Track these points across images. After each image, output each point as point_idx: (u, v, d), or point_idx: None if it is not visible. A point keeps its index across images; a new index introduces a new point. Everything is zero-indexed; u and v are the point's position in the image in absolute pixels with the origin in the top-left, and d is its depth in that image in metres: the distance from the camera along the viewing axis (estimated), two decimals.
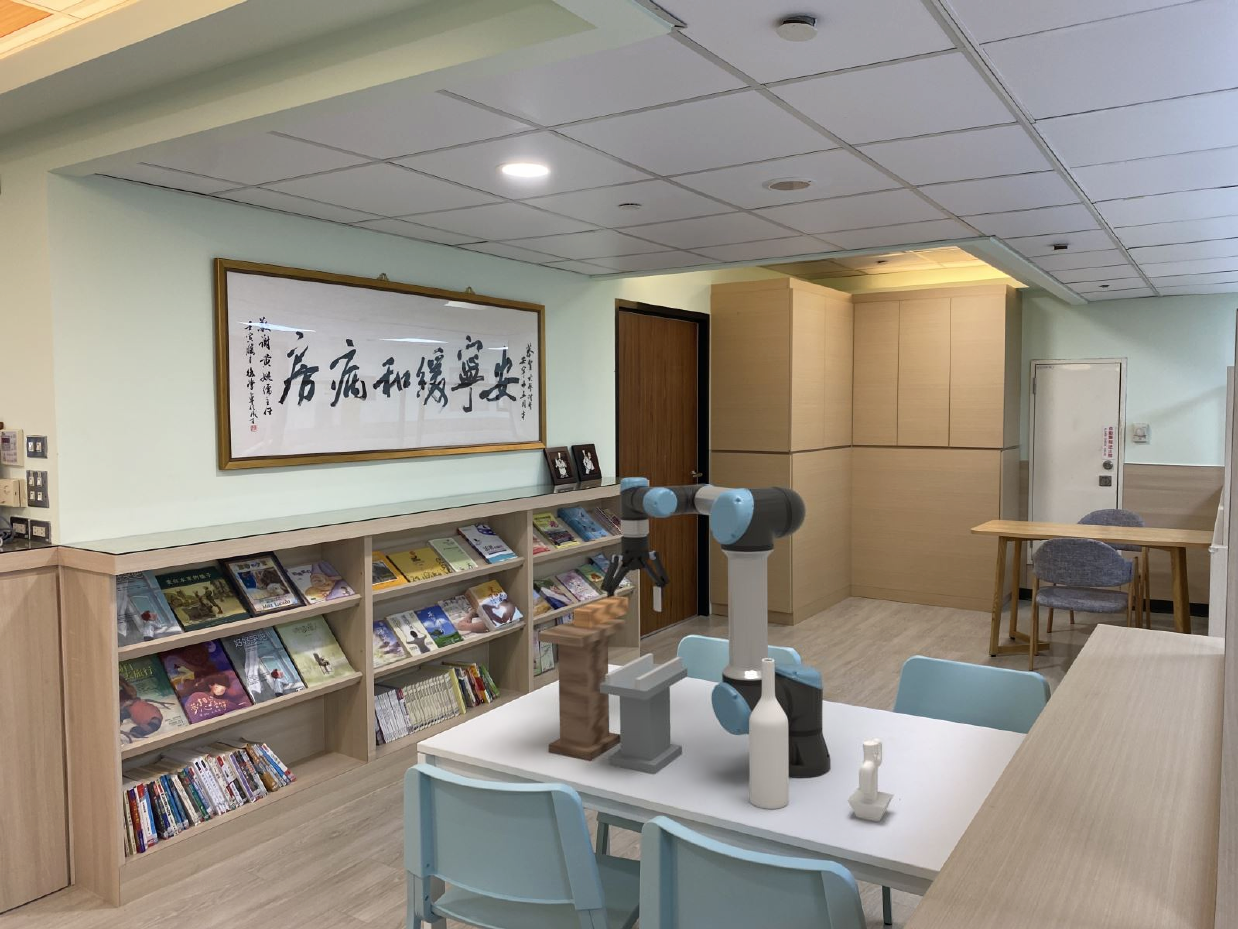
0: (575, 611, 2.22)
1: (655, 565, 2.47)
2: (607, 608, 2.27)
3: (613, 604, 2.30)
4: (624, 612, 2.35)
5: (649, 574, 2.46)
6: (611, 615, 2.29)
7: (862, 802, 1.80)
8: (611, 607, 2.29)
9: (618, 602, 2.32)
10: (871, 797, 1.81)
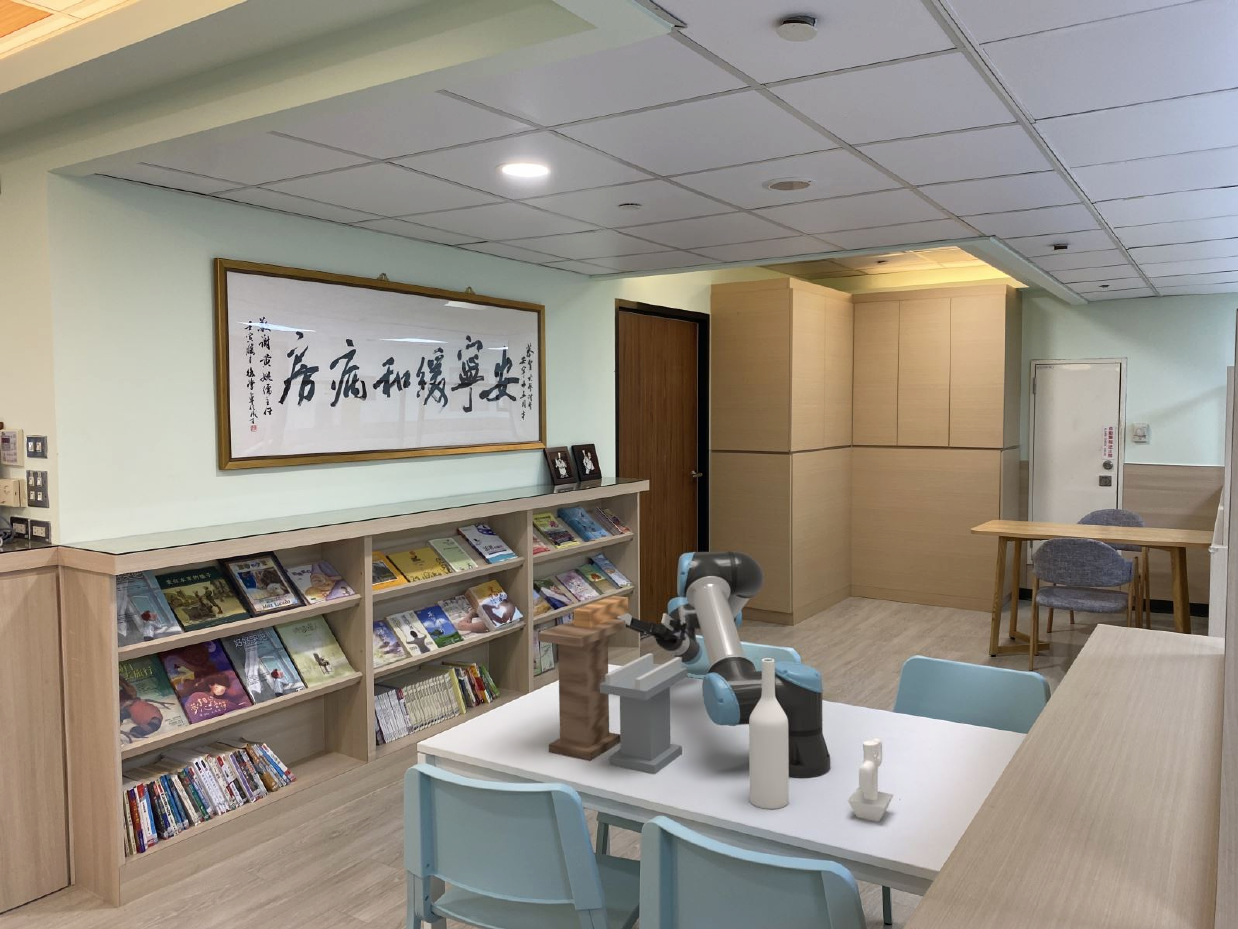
0: (575, 611, 2.22)
1: None
2: (607, 608, 2.27)
3: (613, 604, 2.30)
4: (624, 612, 2.35)
5: None
6: (611, 615, 2.29)
7: (862, 802, 1.80)
8: (611, 607, 2.29)
9: (618, 602, 2.32)
10: (871, 797, 1.81)
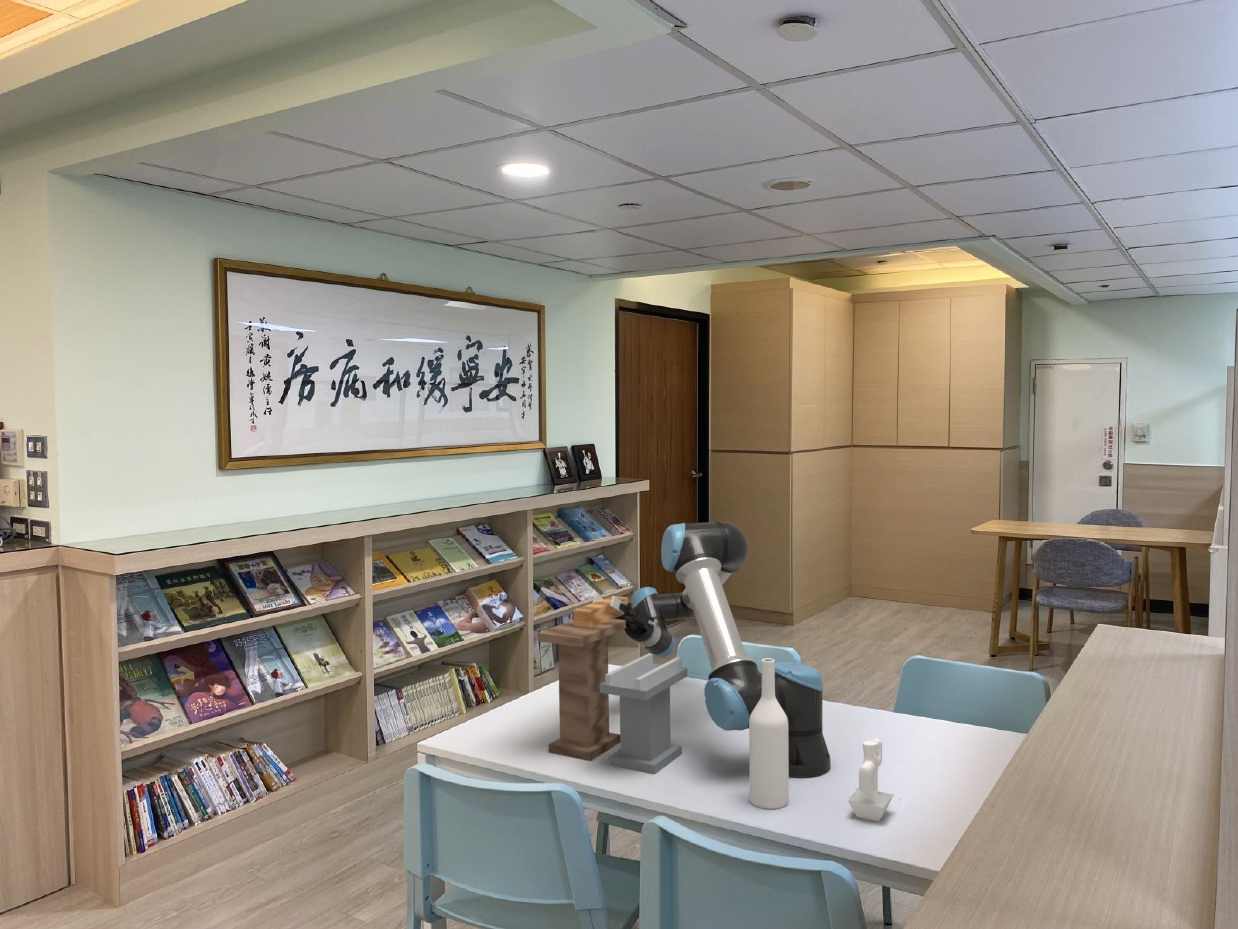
0: (575, 611, 2.22)
1: None
2: (607, 608, 2.27)
3: None
4: None
5: None
6: (611, 615, 2.29)
7: (862, 802, 1.80)
8: (611, 607, 2.29)
9: None
10: (871, 797, 1.81)
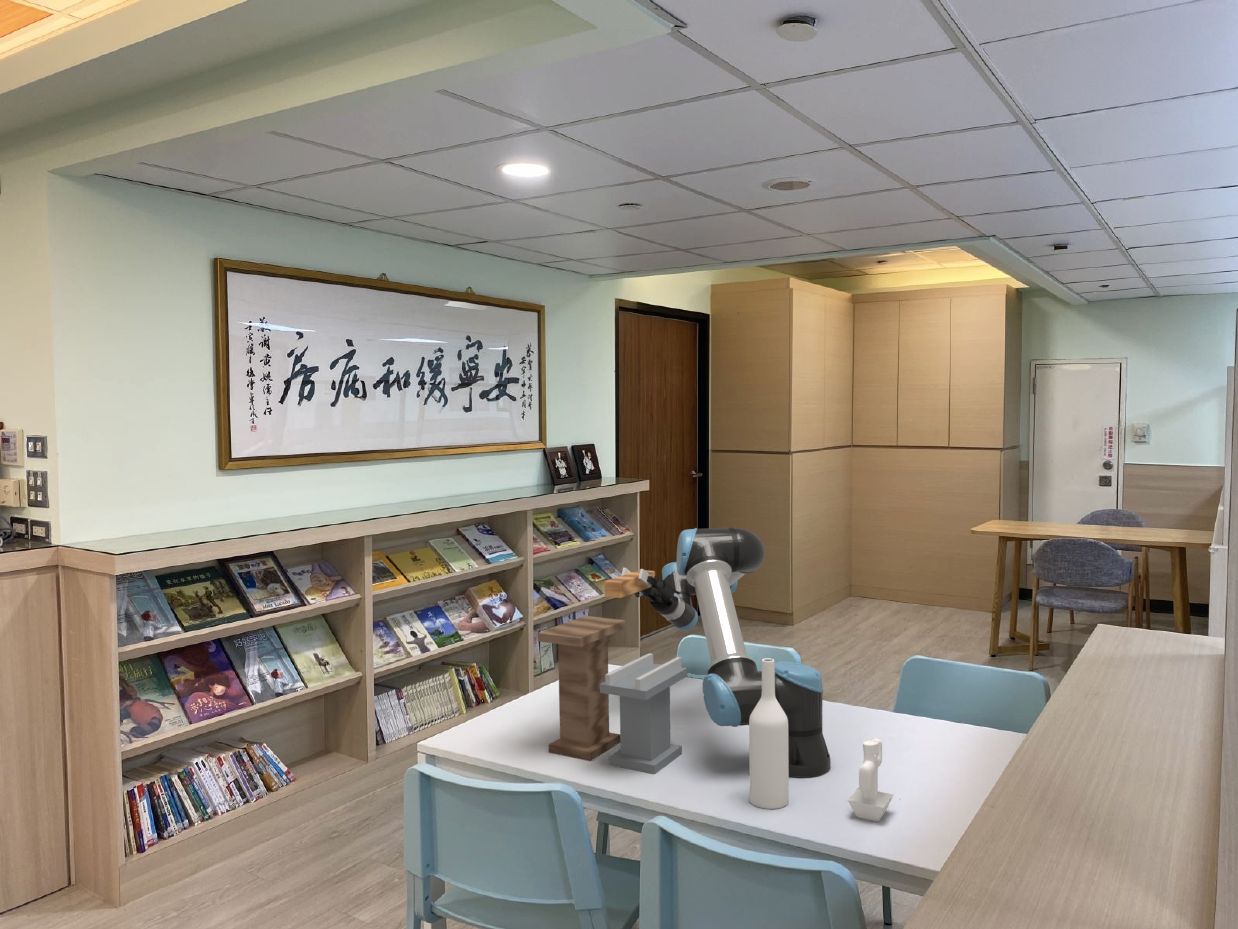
0: (606, 582, 2.33)
1: None
2: (636, 580, 2.38)
3: None
4: None
5: None
6: (640, 587, 2.40)
7: (862, 802, 1.80)
8: None
9: None
10: (871, 797, 1.81)
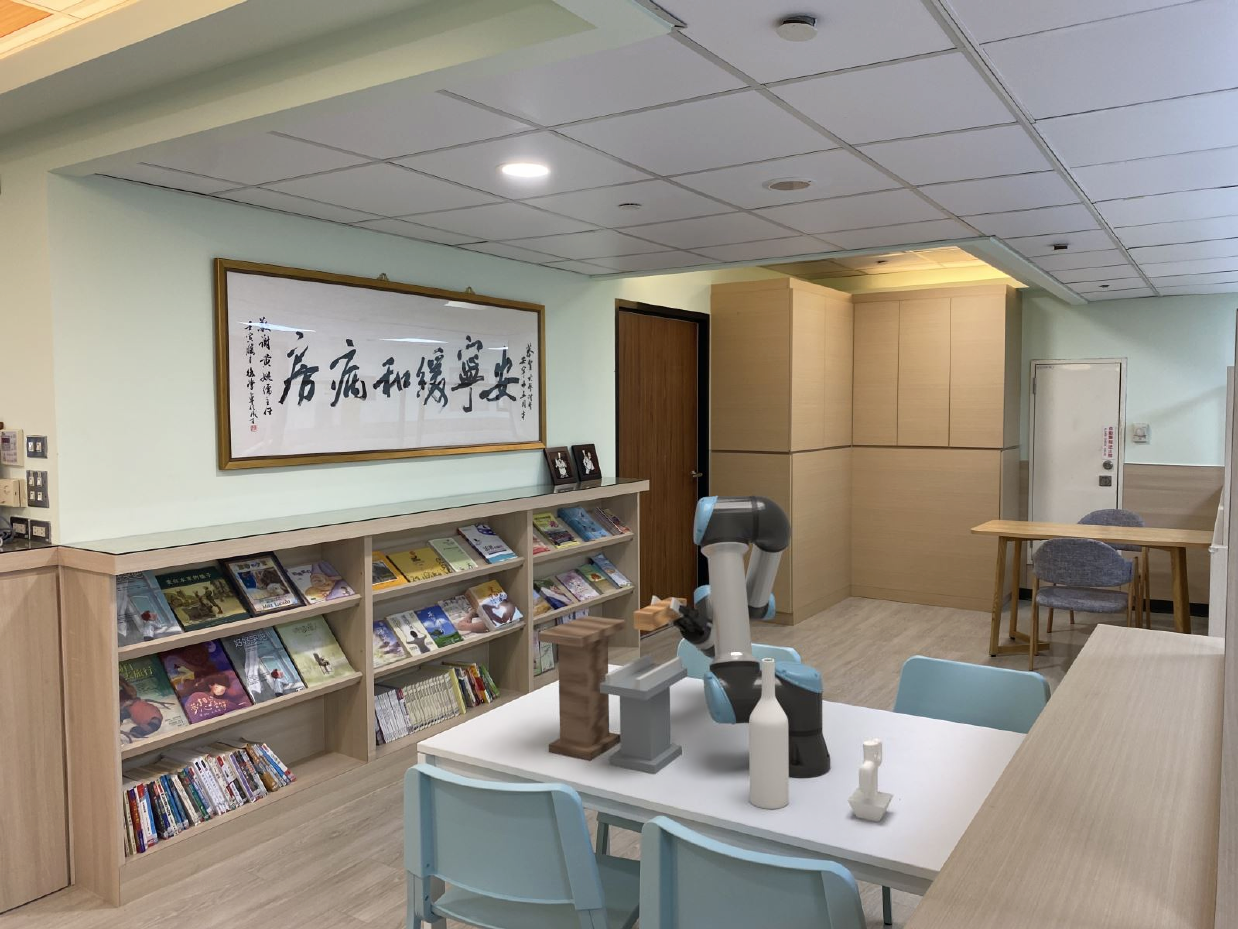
0: (635, 613, 2.13)
1: None
2: (667, 611, 2.19)
3: None
4: None
5: None
6: (671, 617, 2.21)
7: (862, 802, 1.80)
8: None
9: None
10: (871, 797, 1.81)
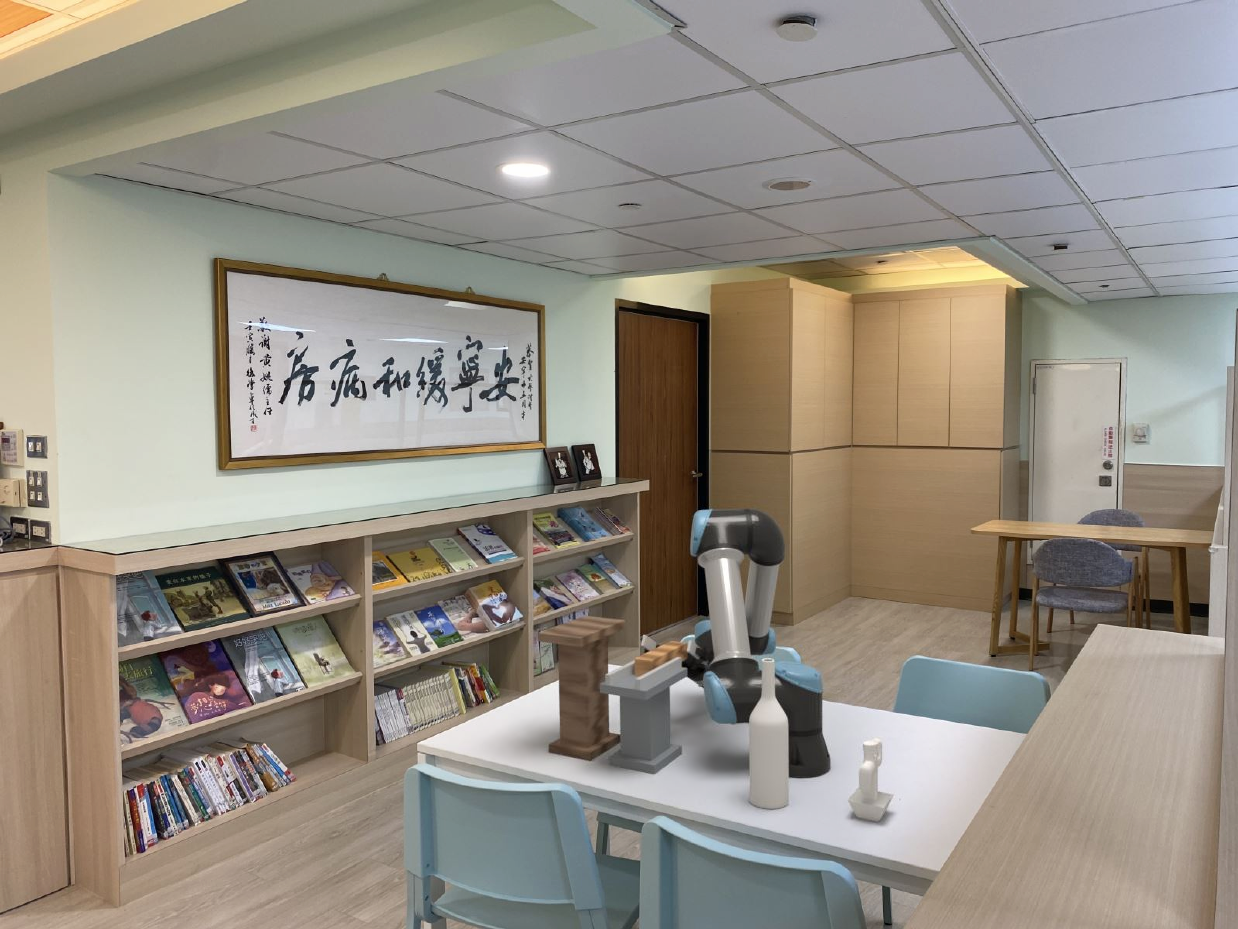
0: (636, 660, 2.14)
1: None
2: (668, 656, 2.19)
3: (673, 651, 2.22)
4: (684, 658, 2.26)
5: None
6: None
7: (862, 802, 1.80)
8: (672, 654, 2.21)
9: (678, 648, 2.24)
10: (871, 797, 1.81)
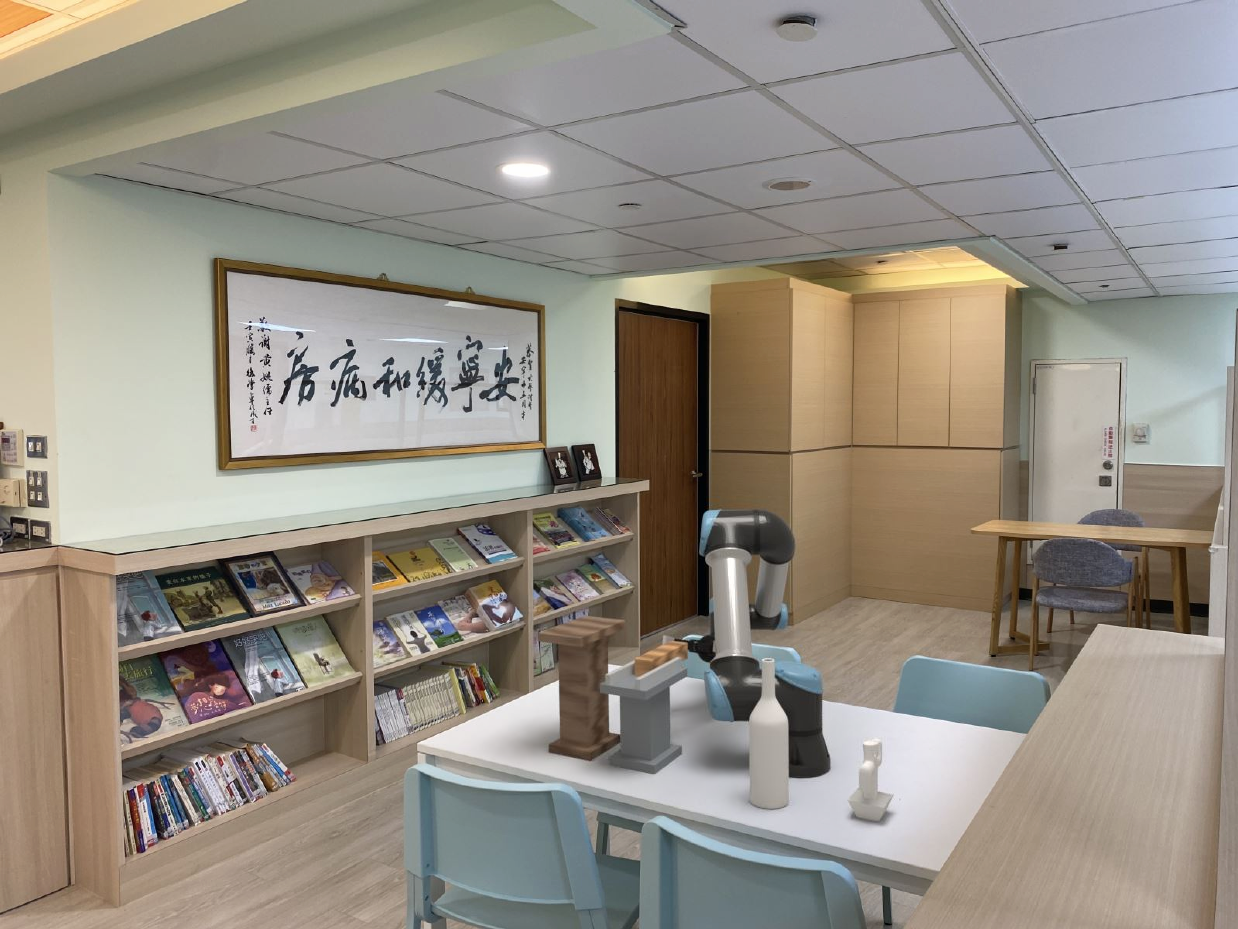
0: (636, 660, 2.14)
1: None
2: (668, 656, 2.19)
3: (673, 651, 2.22)
4: (684, 658, 2.26)
5: None
6: None
7: (862, 802, 1.80)
8: (672, 654, 2.21)
9: (678, 648, 2.24)
10: (871, 797, 1.81)
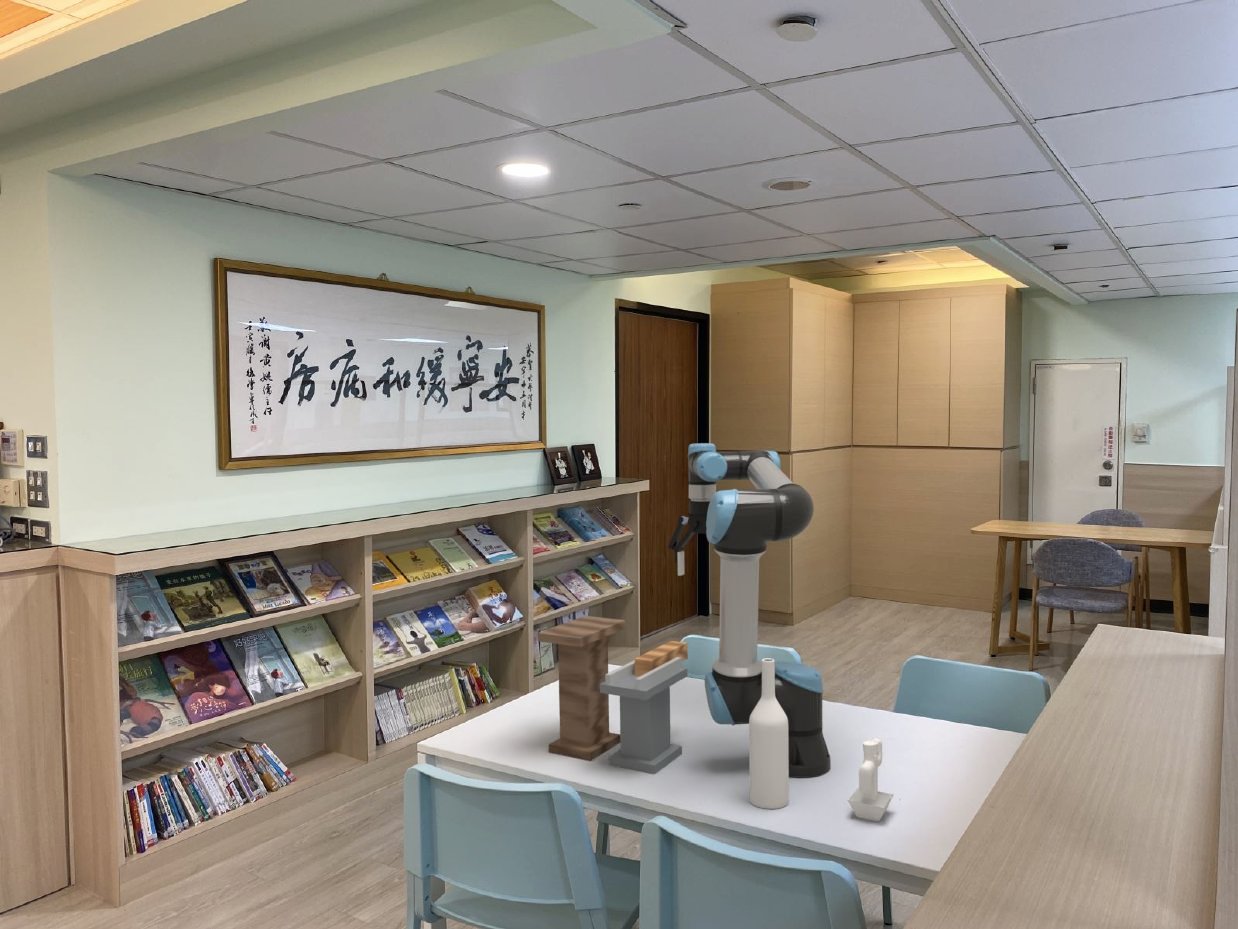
0: (636, 660, 2.14)
1: None
2: (668, 656, 2.19)
3: (673, 651, 2.22)
4: (684, 658, 2.26)
5: None
6: None
7: (862, 802, 1.80)
8: (672, 654, 2.21)
9: (678, 648, 2.24)
10: (871, 797, 1.81)
